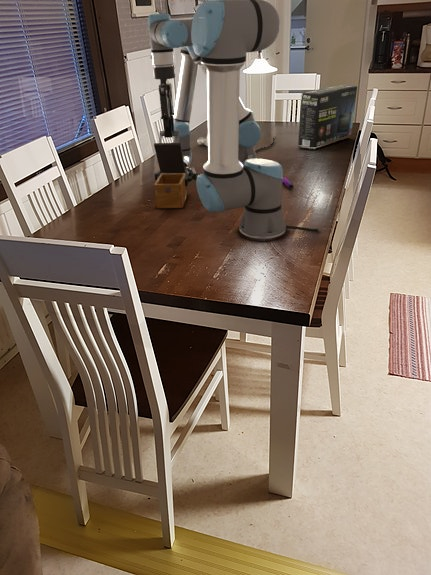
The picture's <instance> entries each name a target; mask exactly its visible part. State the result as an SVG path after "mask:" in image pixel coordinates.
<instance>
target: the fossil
mask: <svg viewBox="0 0 431 575" xmlns="http://www.w3.org/2000/svg"><path fill="white" fill-rule="evenodd" d="M196 141H197V144H198V145H199V146H206V147H208V134H207V135H206V136H205V137H204V136H201V137H199V138H197V140H196Z"/></svg>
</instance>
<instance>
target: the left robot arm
mask: <svg viewBox="0 0 431 575" xmlns="http://www.w3.org/2000/svg"><path fill="white" fill-rule="evenodd" d="M179 54H180V55H181V62H180V70H179V76H178V84H177V90H176V98H175V104H174V109H173V110H174V112H175V115H173V120H174V131H180V136H179V143H181V149H182V155H183V160H184V166H185V175H186V178H185V186H186V187H188V185H189V183H191V182H192V181H196V179H197V176H198V175H197V172H196V169H195V168H196V167H194V166H191V164H192V163H193V154H192V147H191V129H190V123H191V122H190V121H191V115H192V109H193V104H194V97H195V91H196V85H197V79H198V73H199V67H200V68H201V70H202V72H203V75H204V76H205V78H206V79H207V70H206V68H205V67H204V66H203V65H202V64H201V57H200V56H198V55H196V54H195V52H194V50H193V46H186V47H180V52H179ZM260 127H261V126H260V125H259V124H258V123H257V122H256V119H255V118H254V112H253V110H251V109H250V108H246V107H245V106H244V103H243V101H242V99H241V97H240V96H239V144H238V160H239V161H240V162H241V163H242V164H243V166H244V163H245V161H246V160H248V159H258V158H257V157H258V156H257V152H260V151H261V150H263V149H267V148H266V147H265V146H262V147H259V148H260V149H259V148H257V149H255V147H254V146H256V145H257V144H258V143H259V142H260V139H261V135H262V132H261V128H260ZM176 142H177V136H172V143H176ZM263 147H264V148H263ZM160 174H171V173H161V172H160V169H159V170H158V171H157V172H155V173H154V174H153V175H154V181H157V179H158V178H159V176H160Z"/></svg>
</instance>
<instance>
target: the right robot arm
mask: <svg viewBox="0 0 431 575" xmlns="http://www.w3.org/2000/svg"><path fill="white" fill-rule="evenodd" d="M147 22H148V23H147V24H148V25H147V28H148V34H149V43H150V44H149V45H150V52H151V55H150V56H149V58H150V59H151V61H152V62H151V63H152V66H153V68H152V74H153V75H152V76H153V79H155V80H159V85H158V94H159V104H160V114H161V116H160V120H162V124H163V125H162V126H163V131H164V135H165V136H164V138H165V139H167V138H168V139H169V138H173V136H172V131H174V120H173V118H174V115H175V112H174V110H175V109H174V99H173V84H172V83H171V79H175V78H176V68H175V66H174V65H175V52H174V49H179V48H181V47H186V46H193V50H194V52H195V54H196V55H198V56H200V57H201V64H202V65H203V66H204V67H205V68H206V70H207V78H206V98H207V100H206V103H207V105H206V107H207V135H208V146H207V154H208V155H207V157H208V160H207V161H206V162H205V163H203V165H202V166H203V167H202V168H203V169H202V170H203V171H202V172H203V173H200V174H198V175H196V176H197V179H196V180H195V184H196V191H197V193H198V197H199V200H200V202H201V204H202V205H203V207H204V209H205V210H207V211H208V212H210V213H219V212H221V213H224V212H226V211H230V210H235V209H239V208H243V207H244V211H243V213H242V216H241V220H240V222H239V226H238V232H239V235H240V236H241V237H242V238H244V239H247V240H250V241H254V242H271V241H277V240H279V239H281V238H283V237H285V235H286V234H287V229H290V230H299V231H305V232H316V233H318V232H319V228H311V227H310V228H309V227H304V226H296V225H288V224H287V223H286V221H285V216H284V214H283V210H282V200H283V177H284V172H283V171H284V169H283V166H282V164H280V162H277V161H275V160H271V159H266V158H257V159H248V160H246V161H245V163H244V165H243V164H242V163H241V162H240V161H239V160H238V144H239V97H240V94H241V93H240V92H241V90H240V88H241V87H240V86H241V85H240V84H241V69H242V68H243V66H244V65H245V64H246V63H247V53H256V52H260V51H264V50H266V49H267V48H269V47H270V46H272V45H273V44H274V42H276V40H277V38H278V36H279V34H280V29H281V18H280V15H279V12H278V10H277V9H276V8H275V7H274V5H272V4H271V3H270V2H269V1H266V0H206V1H203V2H201V3H200V4H199V5H198V7H197V8H196V10H195V13H194V14H193V18H191V19H172V18H171V15H170V13H151V14H149V15H148V16H147Z"/></svg>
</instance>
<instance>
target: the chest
mask: <svg viewBox="0 0 431 575" xmlns="http://www.w3.org/2000/svg"><path fill="white" fill-rule="evenodd" d="M185 178H186V175H185V173H171V174H160V176H159V178H158V179H157V180H155V183H154V185H153V186H154V194H155V203H156V209H183V208H184V205H185V202H186V200H187V197H188V193H187V192H188V191H187V186H185Z"/></svg>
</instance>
